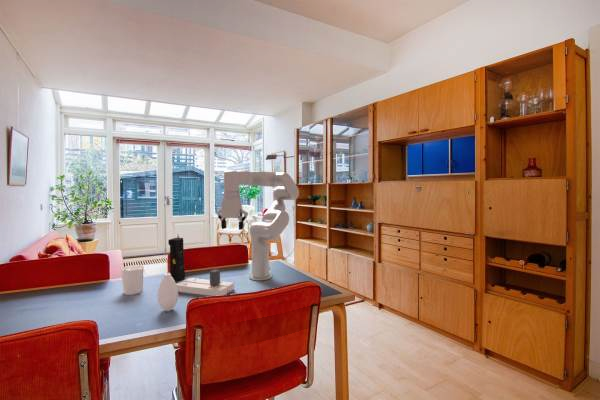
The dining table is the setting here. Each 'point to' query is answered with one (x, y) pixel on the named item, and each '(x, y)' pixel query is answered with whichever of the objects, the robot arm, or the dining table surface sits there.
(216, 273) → the fader tab
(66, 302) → the dining table surface
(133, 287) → the candle holder
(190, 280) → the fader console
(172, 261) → the portable radio
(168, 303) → the sauce bottle
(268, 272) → the robot arm
